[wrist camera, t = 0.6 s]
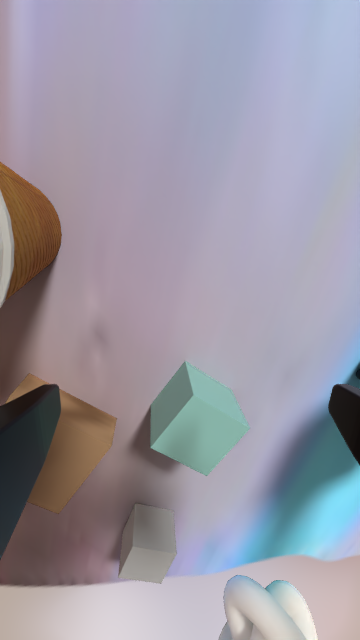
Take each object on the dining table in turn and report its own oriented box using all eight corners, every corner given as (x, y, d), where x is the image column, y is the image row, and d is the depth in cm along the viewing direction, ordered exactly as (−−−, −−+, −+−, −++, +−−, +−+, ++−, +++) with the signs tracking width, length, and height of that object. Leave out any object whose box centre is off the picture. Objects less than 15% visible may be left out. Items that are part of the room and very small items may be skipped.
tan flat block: (117, 416, 24) (111, 445, 21) (70, 477, 26) (58, 514, 23) (30, 371, 22) (9, 396, 19) (-14, 440, 24) (-41, 475, 20)
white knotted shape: (200, 563, 31) (218, 691, 22) (304, 546, 32) (360, 663, 23) (205, 624, 34) (222, 753, 26) (298, 607, 35) (345, 727, 27)
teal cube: (230, 389, 24) (250, 428, 19) (196, 429, 25) (206, 476, 20) (185, 360, 23) (193, 394, 18) (150, 404, 24) (150, 447, 19)
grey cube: (173, 509, 28) (176, 553, 24) (159, 537, 29) (160, 583, 25) (135, 502, 27) (132, 546, 23) (122, 531, 28) (118, 577, 24)
